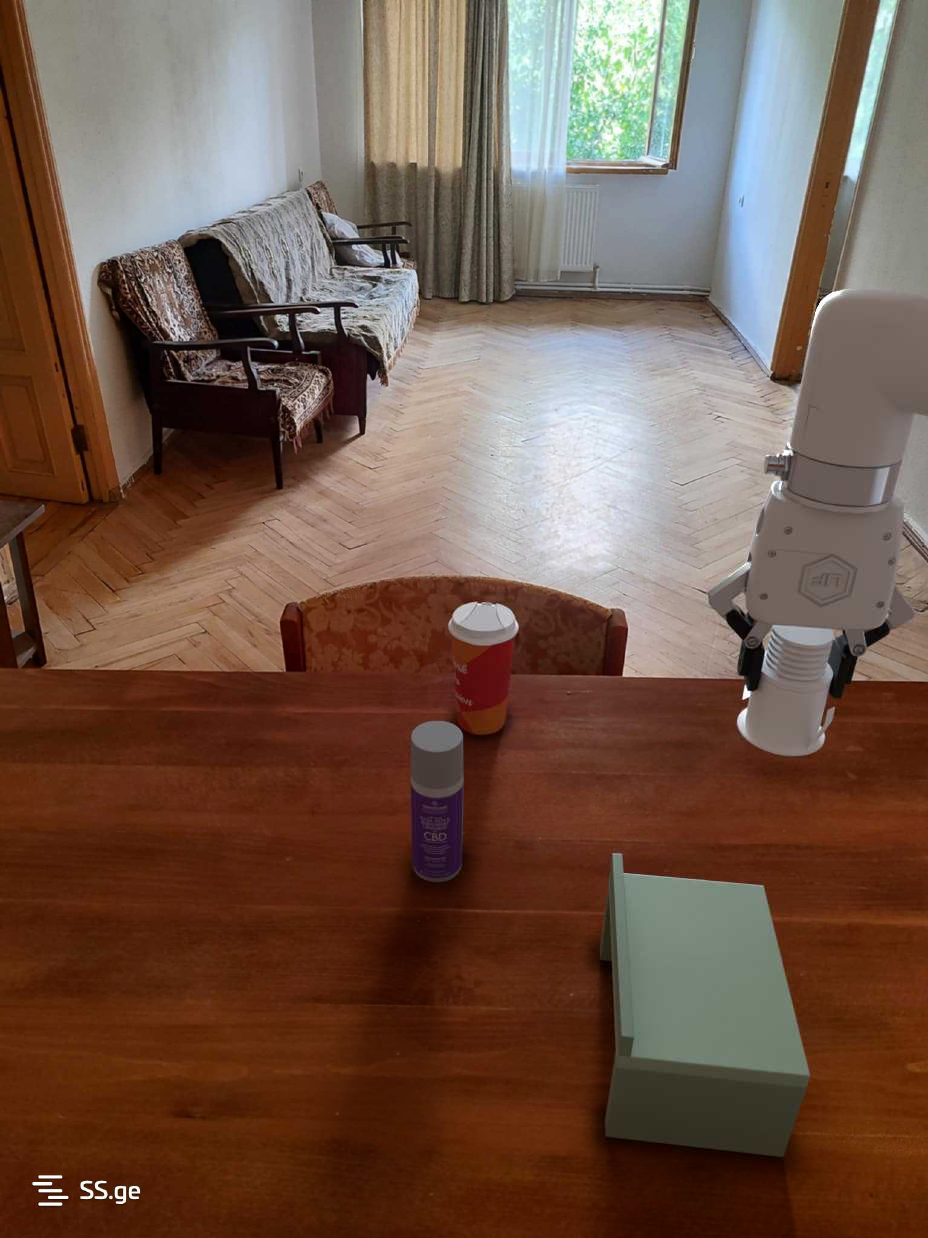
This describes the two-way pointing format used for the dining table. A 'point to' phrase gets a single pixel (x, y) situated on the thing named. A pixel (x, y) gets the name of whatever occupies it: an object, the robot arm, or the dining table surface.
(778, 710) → the downlight
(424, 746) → the container
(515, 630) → the paper cup
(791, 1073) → the green ledge block
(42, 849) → the dining table surface
